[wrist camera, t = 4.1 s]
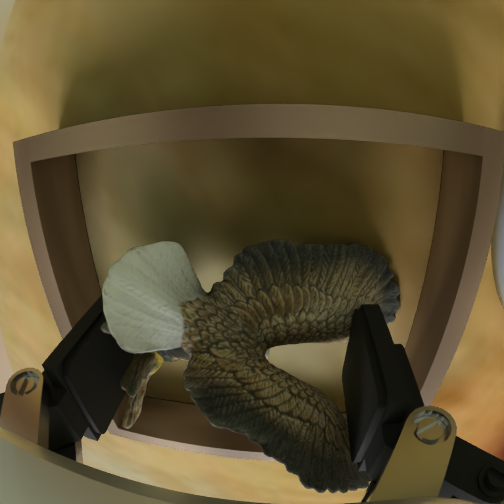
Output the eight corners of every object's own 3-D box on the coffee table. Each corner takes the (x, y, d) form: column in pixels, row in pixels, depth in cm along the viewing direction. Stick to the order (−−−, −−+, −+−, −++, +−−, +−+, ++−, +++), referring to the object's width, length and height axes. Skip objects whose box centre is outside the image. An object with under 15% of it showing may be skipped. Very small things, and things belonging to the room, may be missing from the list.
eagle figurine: (173, 402, 13) (373, 444, 11) (61, 451, 6) (395, 552, 4) (200, 238, 14) (408, 264, 12) (94, 180, 7) (481, 215, 5)
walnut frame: (464, 125, 8) (505, 132, 6) (392, 418, 14) (400, 456, 12) (57, 132, 10) (12, 142, 8) (126, 401, 16) (109, 433, 13)
